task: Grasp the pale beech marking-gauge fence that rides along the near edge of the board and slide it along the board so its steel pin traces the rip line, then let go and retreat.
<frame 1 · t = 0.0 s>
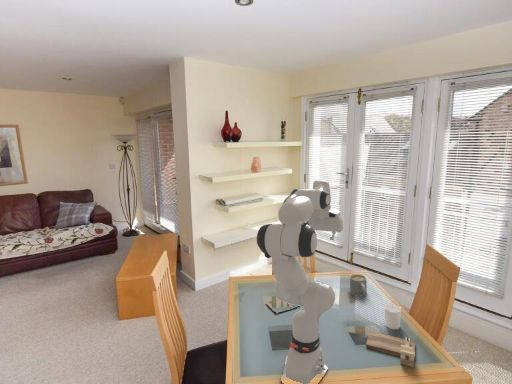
hand: (322, 238, 147), 48 cm above the table, fingers open, 8 cm apart
board: (390, 346, 135), on the table
white cup: (392, 326, 150), on the table
gauge: (407, 349, 128), point 3 cm above the table, slide at 0.0 cm
coffee mug: (359, 293, 185), on the table
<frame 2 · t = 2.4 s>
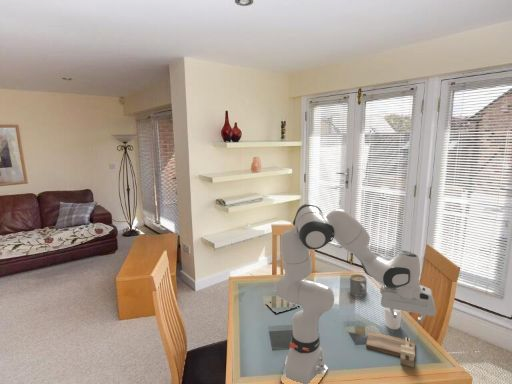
hand: (407, 319, 122), 20 cm above the table, fingers open, 8 cm apart
nothing on the table moved.
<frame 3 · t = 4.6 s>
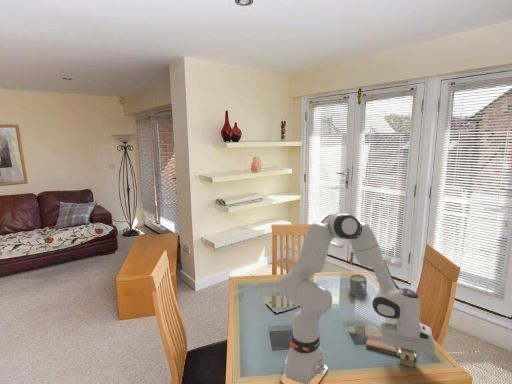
hand: (407, 356, 124), 3 cm above the table, fingers closed on gauge, 5 cm apart
gauge: (407, 349, 128), point 3 cm above the table, slide at 0.0 cm, touching gripper
everything else where it was.
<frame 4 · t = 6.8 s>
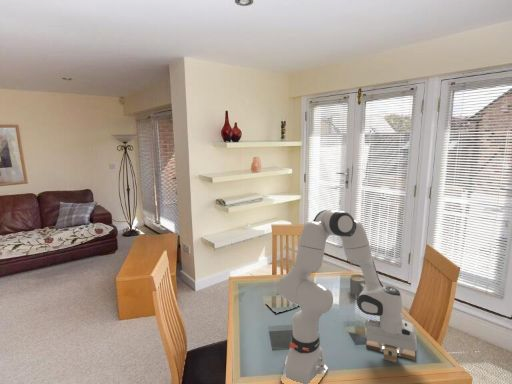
hand: (390, 353, 127), 3 cm above the table, fingers closed on gauge, 5 cm apart
gauge: (391, 345, 131), point 3 cm above the table, slide at 6.5 cm, touching gripper
everything else where it was.
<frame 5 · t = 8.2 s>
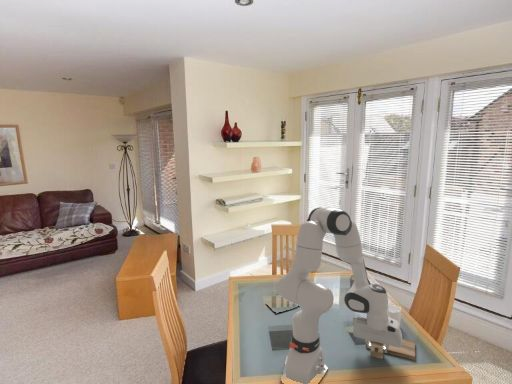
hand: (377, 349, 129), 3 cm above the table, fingers closed on gauge, 5 cm apart
gauge: (378, 342, 133), point 3 cm above the table, slide at 12.0 cm, touching gripper
everything else where it was.
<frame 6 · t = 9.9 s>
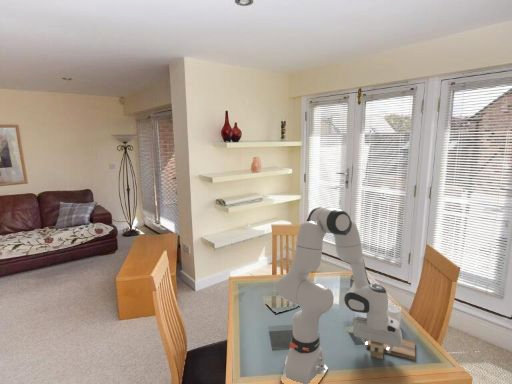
hand: (377, 349, 129), 3 cm above the table, fingers open, 8 cm apart
gauge: (378, 342, 133), point 3 cm above the table, slide at 12.0 cm
everything else where it was.
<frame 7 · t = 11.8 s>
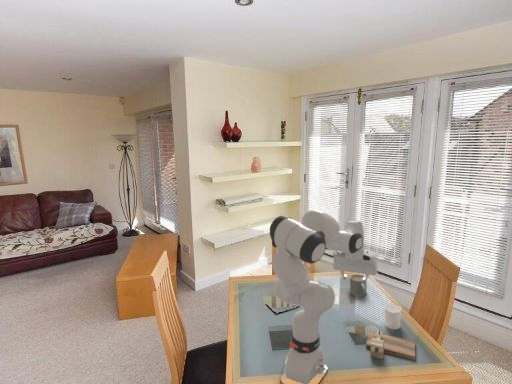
hand: (354, 280, 141), 29 cm above the table, fingers open, 8 cm apart
nothing on the table moved.
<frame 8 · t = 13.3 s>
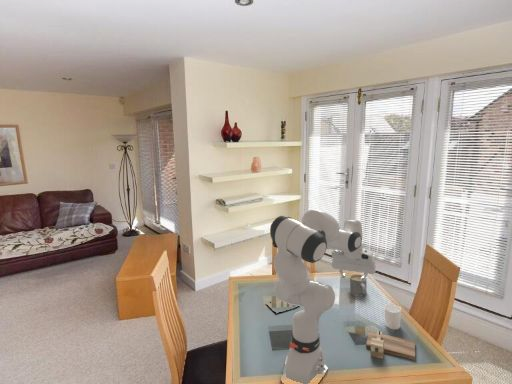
hand: (353, 279, 142), 29 cm above the table, fingers open, 8 cm apart
nothing on the table moved.
at the end: gauge slide at 11.9 cm; the gripper is holding nothing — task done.
